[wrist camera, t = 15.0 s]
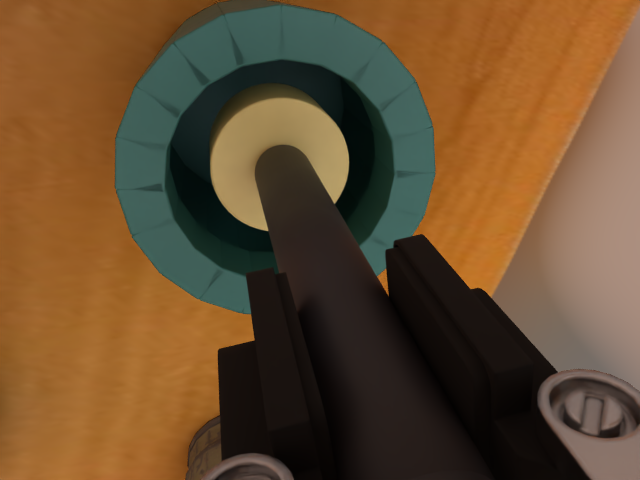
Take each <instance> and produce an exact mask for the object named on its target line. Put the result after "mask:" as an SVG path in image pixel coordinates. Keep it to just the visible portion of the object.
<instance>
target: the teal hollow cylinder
mask: <svg viewBox="0 0 640 480" xmlns="http://www.w3.org/2000/svg"><path fill="white" fill-rule="evenodd" d="M265 83H279V84H285V85H289V86H292V87H295V88H297V89H299V90H301V91H303V92H305V93H306V94H308V95H309V96H310V97H312V98H313V99H314V100H315V101H316V102H317V103H318V104H319V105H320V106H321V108H322V109H323V110H324V111H325V112H326V113H327V114H328V115H329V116H330V117H331V118H332V120H333V121H334V122H335V123H336V124H337V126H338V127H339V129H340V130H341V132H342V134H343V136H344V139H345V142H346V145H347V149H348V154H349V171H348V176H347V181H346V184H345V186H344V189H343V191H342V193H341V195H340V197H339V198H338V200H337V201H336V203H335V206H336V207H337V209H338V211H339V213H340V214H341V216H342V218H343V219H344V221H345V223H346V225H347V226H348V228H349V230H350V231H351V233H352V235H353V237H354V238H355V240H356V242H357V243H358V245H359V247H360V249H361V250H362V252H363V254H364V255H365V257H366V259H367V261H368V262H369V264H370V266H371V267H372V269H373V271H374V272H375V274H376V276H378V275H379V274H380V273H381V272H382V271H383V270H385V269H386V260H385V251H386V249H390V248H393V243H394V241H395V240H397V239H402V238H406V237H411V236H412V235H413V234H414V232H415V230H416V229H417V227H418V225H419V224H420V222H421V220H422V219H423V216H424V215H425V211H426V207H427V204H428V200H429V196H430V192H431V188H432V185H433V181H434V177H435V153H434V130H433V126H432V121H431V118H430V116H429V113H428V111H427V108H426V105H425V103H424V100H423V98H422V95H421V92H420V90H419V87H418V85H417V82H416V81H415V78H414V77H413V76H412V75H411V74H410V72H409V71H408V70H407V69H406V68H405V66H404V65H403V64H402V63H401V62H400V61H399V59H398V58H397V57H396V56H395V55H394V53H393V52H392V51H391V50H390V49H389V48H388V46H387V45H386V44H385V43H384V42H382V41H381V40H380V39H379V38H377V37H375V36H373V35H372V34H370V33H368V32H366V31H365V30H363V29H361V28H360V27H358V26H356V25H354V24H353V23H351V22H349V21H348V20H346V19H344V18H342V17H341V16H339V15H336V14H334V13H329V12H324V11H319V10H314V9H309V8H304V7H300V6H295V5H290V4H285V3H280V2H274V1H269V0H230V1H225V2H219V3H217V4H214V5H212V6H210V7H208V8H206V9H204V10H202V11H201V12H199V13H197V14H195V15H194V16H192V17H190V18H189V19H187V20H186V21H185V22H184V23H183V24H182V25H181V26H180V27H179V29H178V30H177V31H176V32H175V33H174V34H173V35H172V37H171V38H170V39H169V40H168V41H167V42H166V44H165V45H164V46H163V47H162V49H161V50H160V52H159V53H158V54H157V56H156V57H155V59H154V60H153V61H152V63H151V64H150V66H149V67H148V68H147V70H146V71H145V73H144V74H143V75H142V77H141V78H140V79H139V81H138V82H137V84H136V86H135V87H134V89H133V92H132V95H131V97H130V100H129V103H128V105H127V108H126V110H125V113H124V116H123V118H122V121H121V124H120V126H119V129H118V132H117V134H116V138H115V189H116V193H117V195H118V198H119V201H120V204H121V207H122V210H123V213H124V216H125V219H126V222H127V225H128V228H129V230H130V233H131V234H132V238H133V239H134V240H135V242H136V243H137V244H138V246H139V247H140V248H141V249H142V251H143V252H144V253H145V255H146V256H147V257H148V258H149V260H150V261H151V262H152V264H153V265H154V266H155V268H156V269H157V270H158V271H159V273H161V274H162V275H163V276H165V277H166V278H168V279H169V280H170V281H172V282H173V283H175V284H176V285H178V286H179V287H181V288H182V289H184V290H185V291H186V292H188V293H189V294H191V295H192V296H194V297H195V298H197V299H200V300H201V301H204V302H207V303H210V304H213V305H216V306H220V307H223V308H226V309H229V310H232V311H235V312H238V313H243V314H251V309H250V302H249V295H248V288H247V281H246V273H248V272H253V271H258V270H262V269H267V268H271V267H273V268H274V272H275V274H278V273H279V270H278V266H277V262H276V258H275V254H274V251H273V247H272V243H271V239H270V235H269V231H265V230H260V229H257V228H254V227H251V226H249V225H247V224H245V223H243V222H241V221H240V220H238V219H237V218H235V217H234V216H233V215H232V214H231V213H229V212H228V210H227V209H226V208H225V207H224V206H223V204H222V203H221V201H220V200H219V198H218V196H217V194H216V192H215V190H214V187H213V184H212V180H211V174H210V149H209V141H210V133H211V129H212V125H213V123H214V120H215V118H216V116H217V114H218V113H219V111H220V110H221V108H222V107H223V106H224V104H225V103H226V102H227V101H228V100H229V99H230V98H232V97H233V96H234V95H236V94H237V93H239V92H241V91H242V90H244V89H246V88H249V87H251V86H255V85H259V84H265Z"/></svg>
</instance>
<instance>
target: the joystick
mask: <svg viewBox="0 0 640 480" xmlns="http://www.w3.org/2000/svg"><path fill="white" fill-rule="evenodd" d="M209 149H210V174H211V180H212V184H213V187H214V190H215V192H216V194H217V196H218V198H219V200H220V201H221V203H222V204H223V206H224V207H225V208H226V209H227V210H228V212H229V213H231V214H232V215H233V216H234V217H235V218H237V219H238V220H240V221H241V222H243V223H245V224H247V225H249V226H251V227H254V228H257V229H260V230H265V231H269V235H270V239H271V243H272V247H273V251H274V254H275V258H276V262H277V266H278V270H279V273H283V272H286V274H287V278H288V281H289V285H290V288H291V292H292V296H293V299H294V303H295V306H296V310H297V314H298V317H299V321H300V324H301V328H302V331H303V335H304V339H305V342H306V346H307V349H308V353H309V357H310V360H311V364H312V367H313V371H314V374H315V378H316V382H317V385H318V389H319V392H320V396H321V400H322V403H323V407H324V411H325V416H326V420H327V424H328V429H329V434H330V440H331V445H332V451H333V456H334V461H335V467H336V472H337V477H338V480H495V478H494V476H493V475H492V473H491V471H490V469H489V468H488V466H487V464H486V463H485V461H484V459H483V457H482V456H481V454H480V452H479V451H478V449H477V447H476V446H475V444H474V442H473V440H472V439H471V437H470V435H469V434H468V432H467V430H466V428H465V427H464V425H463V423H462V422H461V420H460V418H459V416H458V415H457V413H456V411H455V410H454V408H453V406H452V404H451V403H450V401H449V399H448V398H447V396H446V394H445V392H444V391H443V389H442V387H441V386H440V384H439V382H438V380H437V379H436V377H435V375H434V374H433V372H432V370H431V368H430V367H429V365H428V363H427V362H426V360H425V358H424V356H423V355H422V353H421V351H420V350H419V348H418V346H417V344H416V343H415V341H414V339H413V338H412V336H411V334H410V332H409V331H408V329H407V327H406V326H405V324H404V322H403V320H402V319H401V317H400V315H399V314H398V312H397V310H396V308H395V307H394V305H393V303H392V302H391V300H390V298H389V296H388V295H387V293H386V291H385V290H384V288H383V286H382V284H381V283H380V281H379V279H378V278H377V276H376V274H375V272H374V271H373V269H372V267H371V266H370V264H369V262H368V261H367V259H366V257H365V255H364V254H363V252H362V250H361V249H360V247H359V245H358V243H357V242H356V240H355V238H354V237H353V235H352V233H351V231H350V230H349V228H348V226H347V225H346V223H345V221H344V219H343V218H342V216H341V214H340V213H339V211H338V209H337V207H336V206H335V203H336V201H337V200H338V198H339V197H340V195H341V193H342V191H343V189H344V186H345V184H346V181H347V176H348V171H349V154H348V149H347V145H346V142H345V139H344V136H343V134H342V132H341V130H340V129H339V127H338V126H337V124H336V123H335V122H334V121H333V120H332V118H331V117H330V116H329V115H328V114H327V113H326V112H325V111H324V110H323V109H322V108H321V106H320V105H319V104H318V103H317V102H316V101H315V100H314V99H313V98H312V97H310V96H309V95H308V94H306V93H305V92H303V91H301V90H299V89H297V88H295V87H292V86H289V85H285V84H279V83H265V84H259V85H255V86H251V87H249V88H246V89H244V90H242V91H241V92H239V93H237V94H236V95H234V96H233V97H232V98H230V99H229V100H228V101H227V102H226V103H225V104H224V106H223V107H222V108H221V110H220V111H219V113H218V114H217V116H216V118H215V120H214V123H213V125H212V129H211V133H210V141H209Z"/></svg>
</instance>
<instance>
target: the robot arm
mask: <svg viewBox="0 0 640 480" xmlns="http://www.w3.org/2000/svg"><path fill="white" fill-rule="evenodd" d="M385 260H386V270H387V281H388V291H389V298H390V300H391V302H392V303H393V305H394V307H395V308H396V310H397V312H398V314H399V315H400V317H401V319H402V320H403V322H404V324H405V326H406V327H407V329H408V331H409V332H410V334H411V336H412V338H413V339H414V341H415V343H416V344H417V346H418V348H419V350H420V351H421V353H422V355H423V356H424V358H425V360H426V362H427V363H428V365H429V367H430V368H431V370H432V372H433V374H434V375H435V377H436V379H437V380H438V382H439V384H440V386H441V387H442V389H443V391H444V392H445V394H446V396H447V398H448V399H449V401H450V403H451V404H452V406H453V408H454V410H455V411H456V413H457V415H458V416H459V418H460V420H461V422H462V423H463V425H464V427H465V428H466V430H467V432H468V434H469V435H470V437H471V439H472V440H473V442H474V444H475V446H476V447H477V449H478V451H479V452H480V454H481V456H482V457H483V459H484V461H485V463H486V464H487V466H488V468H489V469H490V471H491V473H492V475H493V476H494V478H495V480H640V391H639V390H637V389H636V388H634V387H633V386H632V385H631V384H629V383H628V382H626V381H624V380H622V379H619V378H617V377H615V376H613V375H610V374H607V373H603V372H599V371H595V370H584V369H574V370H566V371H561V372H559V373H558V372H557V371H556V370H555V368H554V367H553V366H552V365H551V364H550V363H549V362H548V361H547V360H546V358H544V356H543V355H542V354H541V353H540V352H539V351H538V349H537V348H536V347H535V346H534V345H533V344H532V343H531V342H530V341H529V340H528V338H527V337H526V336H525V335H524V334H523V333H522V332H521V331H520V329H519V328H518V327H517V326H516V325H515V324H514V323H513V322H512V321H511V320H510V319H509V318H508V316H507V315H506V314H505V313H504V312H503V311H502V310H501V308H500V307H499V306H498V305H497V304H496V303H495V302H494V301H493V299H492V298H491V297H490V296H489V295H488V294H487V293H486V292H485V291H484V290H482V289H480V288H475V289H470V288H469V287H468V286H467V285H466V283H465V282H464V281H463V280H462V279H461V278H460V276H459V275H458V274H457V273H456V272H455V271H454V270H453V268H452V267H451V266H450V265H449V264H448V263H447V261H446V260H445V259H444V258H443V257H442V256H441V254H440V253H439V252H438V251H437V250H436V249H435V247H434V246H433V245H432V244H431V243H430V242H429V240H428V239H427V238H426V237H425V236H424V235H423V234H420V235H416V236H411V237H406V238H402V239H397V240H395V241H394V243H393V248H390V249H386V251H385ZM246 281H247V288H248V295H249V302H250V309H251V316H252V323H253V331H254V338H255V341H251V342H246V343H242V344H238V345H234V346H229V347H225V348H221V349H219V350H218V375H219V403H220V432H221V460H222V461H221V462H220V463H218V464H217V465H215V466H214V467H213V468H211V469H210V470H208V471H207V472H206V473H205V474H204V475H203V476H202V477H201V479H200V480H338V477H337V472H336V467H335V461H334V456H333V451H332V445H331V440H330V434H329V429H328V424H327V420H326V416H325V411H324V407H323V403H322V400H321V396H320V392H319V389H318V385H317V382H316V378H315V374H314V371H313V367H312V364H311V360H310V357H309V353H308V349H307V346H306V342H305V339H304V335H303V331H302V328H301V324H300V321H299V317H298V314H297V310H296V306H295V303H294V299H293V296H292V292H291V288H290V285H289V281H288V278H287V274H286V272H283V273H278V274H275V272H274V268H273V267H271V268H267V269H262V270H258V271H253V272H248V273H246Z"/></svg>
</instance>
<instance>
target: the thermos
mask: <svg viewBox="0 0 640 480" xmlns="http://www.w3.org/2000/svg"><path fill="white" fill-rule="evenodd" d="M221 461H222V460H221V432H220V416H218V417H217V418H215V419H213V420H211V421H209V422H208V423H207V424H205V425H204V426H203V427H202V428H201V429H200V430H199V431H198V432H197V433H196V434H195V436H194V438H193V440H192V442H191V444H190V446H189V453H188V468H189V470H188V472H187V473H186V479H185V480H200V479H201V477H202V476H203V475H204V474H205V473H206V472H207V471H208V470H210V469H211V468H213V467H214V466H215V465H217V464H218V463H220V462H221Z"/></svg>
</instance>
